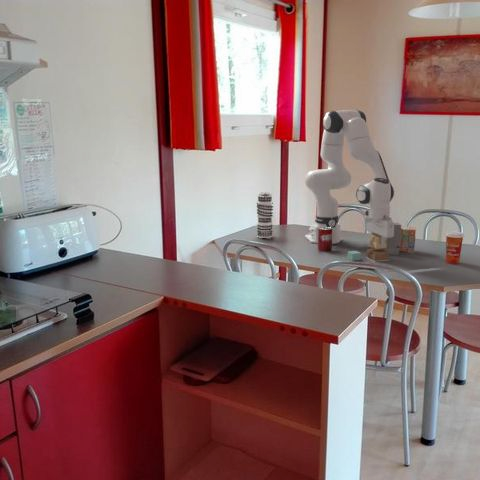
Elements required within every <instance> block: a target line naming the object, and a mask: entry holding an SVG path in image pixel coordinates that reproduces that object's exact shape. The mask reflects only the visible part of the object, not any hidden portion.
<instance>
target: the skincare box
mask: <svg viewBox="0 0 480 480" xmlns="http://www.w3.org/2000/svg"><path fill="white" fill-rule="evenodd" d="M393 224H394V236H393V237H392V238H387V247H386V248H381V249H384V250H386V251H388V256H389V255H391V256H392V255H393V256H396V255H400V251H399V248H400V236H401V227H402V224H400V223H399V222H393Z"/></svg>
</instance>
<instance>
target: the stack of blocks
mask: <svg viewBox="0 0 480 480" xmlns="http://www.w3.org/2000/svg"><path fill="white" fill-rule="evenodd" d="M416 231H417V230H416V227H414V226H413V227H411V226H401V236H400V248H399V252H406V253H408V254H415V243H416ZM376 235H378V234H376ZM369 249H375V248H373V247H371V246H370V245H369Z"/></svg>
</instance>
